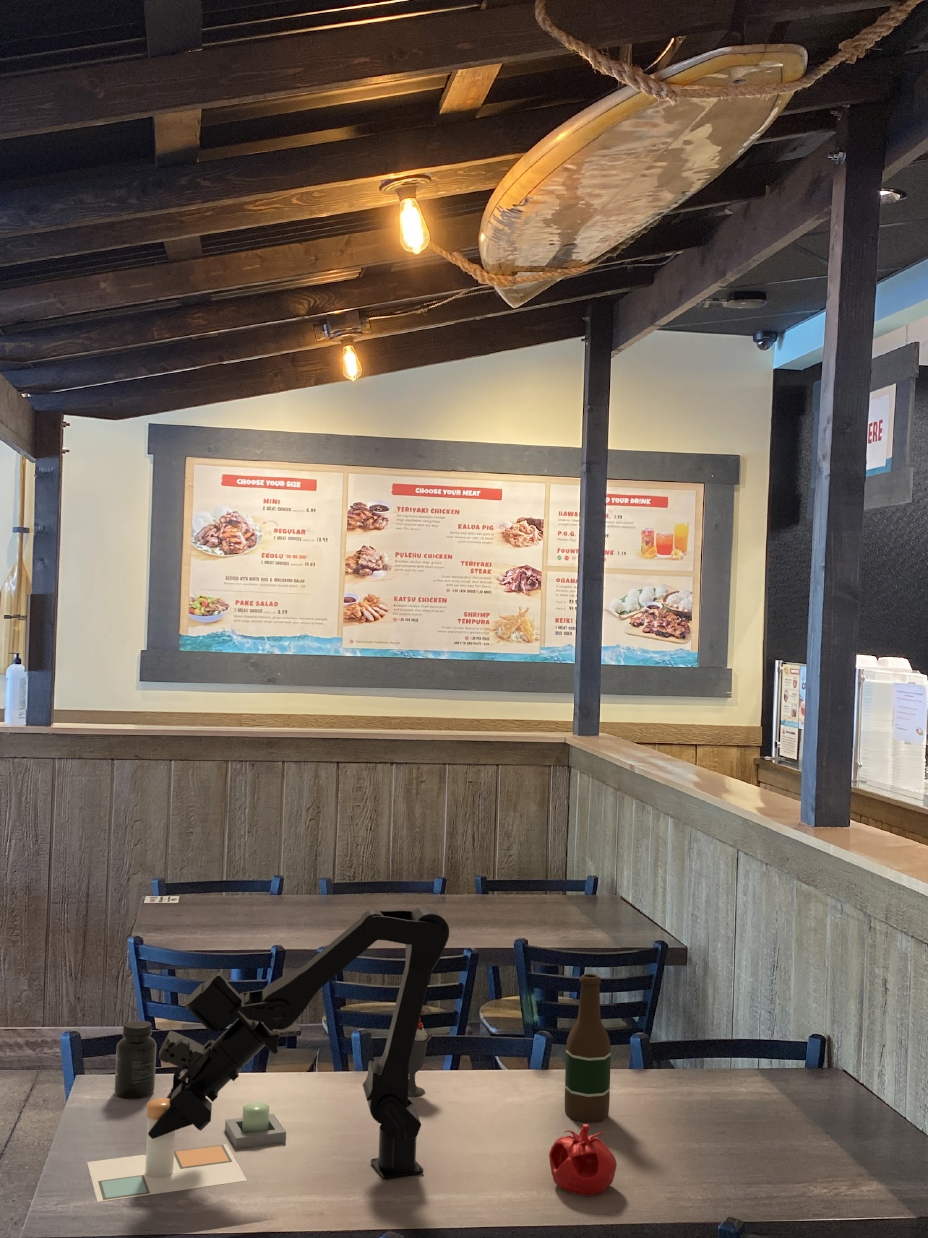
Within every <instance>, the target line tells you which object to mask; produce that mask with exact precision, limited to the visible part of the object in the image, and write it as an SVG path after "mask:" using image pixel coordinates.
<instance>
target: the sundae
mask: <svg viewBox="0 0 928 1238" xmlns="http://www.w3.org/2000/svg"><path fill="white" fill-rule="evenodd" d="M423 1014H425V1011H424V1010H423V1009H422V1011H421V1015H423ZM421 1015H420V1017H422V1016H421ZM431 1038H433V1034H431V1033H428V1032H427V1031H426V1029H425V1028H424V1024H423V1022H421V1018H420V1019H419V1024H418V1028H417V1032H416V1036H415V1040H414V1044H413V1048H412V1052H411V1056H410V1061H409V1092H408V1098H410V1097H411V1098H417V1097H421V1096H423V1095H425V1093H426V1091H425V1089H424V1088H422V1087H420V1086H417V1083H416V1073H417V1072H419V1071H420V1070H421V1069H422V1068H423V1067H424V1064H425V1063H424V1062H425V1058H426V1052H427V1046H428V1043H429V1041H430V1040H431Z"/></svg>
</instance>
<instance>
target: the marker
mask: <svg viewBox="0 0 928 1238" xmlns="http://www.w3.org/2000/svg"><path fill="white" fill-rule="evenodd" d="M169 1104H170V1098H167V1097H161V1098H154V1099H152V1100H149V1101H148V1102H147V1105H146V1106H147V1110H146V1116H147V1125H146V1148H145V1150H146V1151H145V1155H146V1167H145V1174H146V1175H147V1176H148V1177H152V1178H162V1177H166V1176H169V1175H171V1174H172V1173H173V1163H174V1151H175V1141H176V1139H175V1137H176V1136H175V1135H176V1130H175V1131H172V1132H170V1133H167V1134H165V1135H162V1136H159V1137H157V1138H154V1139H152V1138H151V1137H150V1136H149V1135H148V1133H149V1131H150V1130H151V1128H152V1127H153V1125H154V1124H155V1123H156V1121H157V1120H158V1119H159V1117H160V1116H161V1115H162V1113H163V1112H164V1111H165V1109H166V1108H167V1107H168V1106H169Z"/></svg>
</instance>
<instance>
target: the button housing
mask: <svg viewBox="0 0 928 1238" xmlns="http://www.w3.org/2000/svg"><path fill="white" fill-rule="evenodd" d="M242 1119H243V1117H237V1118H228V1119H225V1120H224V1123H225V1124H224V1131H225V1132H226V1135H227V1136H228V1138H229V1140H231V1142H232V1145H233V1146H234V1148H235V1149H243V1148H249V1147H257V1146H266V1145H274V1144H280V1143H282V1144H283V1145H284V1146H285V1147H286V1145H287V1131H286V1130H285V1129H286V1128H284V1127H283V1125H282V1123H281V1122H280V1121H279V1119H278V1118H277V1117H276V1114H274V1113H272V1114H271V1113H269V1130H268V1131H262V1132H254V1133H246V1134H244V1133H243V1132H242Z"/></svg>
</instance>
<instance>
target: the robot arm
mask: <svg viewBox="0 0 928 1238" xmlns="http://www.w3.org/2000/svg"><path fill="white" fill-rule="evenodd" d="M449 938H450V928H449V925H448V922H447V921H446V920H445V918H444V917H443V916H442V915H441V913H440V912H439V911H438V910H437V909H436V908H433V907H432V906H426V905H425V906H424V905H423V906H420V907H417V908H416V909H414V910H405V909H403V910H402V909H397V910H394V909H393V910H379V909H374V908H373V909H368V910H366V911H364V912H363V913H362V915H361V916H360V918H359V919H357V920H356V921H355V922H354V923H353V924H352V925H350V926H349V927H348V928H347V929H345V930H344V931H343V932H342V933H341V934H340V935H339V936H337V937H336V938H334V940H333V941H331V942H330V943H329V944H328V945H326V946H325V948H323V949H322V950H320V952H318V953H317V954H316V955H315V956H314V957H312V958H311V959H310V960H308V962H307V963H305V964H304V965H303V966H301V967H299V968H297V969H295V970H293V971H290V972H288V973H286V974H283V975H282V976H281V977H279V978H277V979H276V980H274V981H273V982H271V983H268V984H267V985H266V986H265V987H264V988H263V989H257V990H252V991H245V992H244V991H243V992H241V993H239V992H238V991H237V990H236V989H235V988H234V987H233V986H232V985H231V984H230V983H229V982H228V980H227V979H226V977H225V976H224V975H223V974H222V973H221V972H217V973H216V974H215V975H214V976H212V977H210V978H208V980H206V981H204V982H203V983H200V984H199V985H198V986H197V987H196V988H195V989H194V990H193V992H191V994H189V996H188V997H187V999H185V1002H184V1003H183V1006H184V1008H186V1009H187V1010H188V1011H189V1012H190V1013H191V1014H192V1015H193V1017H195V1018H196V1020H198V1021H199V1022H200V1024H202V1025H203V1026H204V1027H205V1028H206V1029H207V1031H208V1032H211V1033H212V1032H213V1031H214V1032H215V1033H218V1032H222V1031H223V1033H222V1034H220V1036H219V1037H218V1038H217V1039H216V1040H214V1039H212V1040H210V1039H209V1040H208V1041H207V1042H206V1043H205V1044H204V1045H203V1044H201V1043H199V1042H197V1041H195V1040H194V1039H192V1038H190V1037H187V1036H184V1035H183V1034H180V1033H178V1032H176V1031H172V1030H170V1031H169V1032H168V1034H167V1035H166V1037H165V1038H164V1041H163V1043H162V1045H161V1048H159V1053H158V1056H157V1058H158V1060H160V1061H161V1062H164V1063H166V1064H167V1063H169V1064H172V1065H174V1066H176V1067H178V1068H179V1069H182V1070H181V1071H180V1072H179V1071H178V1070H176V1069H175V1070H174V1072H173V1078H172V1087H171V1088H170V1091H169V1093H168V1094H167V1096H166V1098H170V1104H169V1106H168V1107H167V1108H166V1109H165V1111H164V1112H163V1113H162V1115H161V1116H160V1117H159V1119H158V1120H157V1121H156V1123H155V1124H154V1125H153V1127H152V1128H151V1130H150V1131H149V1133H148V1135H149V1136H150V1137H151V1138H152V1139H154V1138H157V1137H159V1136H162V1135H165V1134H167V1133H170V1132H172V1131H175V1132H176V1131H177V1130H180V1129H184V1128H187V1127H190V1126H192V1125H193V1126H194V1127H195V1128H196V1129H197V1130H198V1131H200V1132H201V1131H202V1130H204V1128H205V1127H207V1126H208V1124H209V1123H211V1120H212V1107H213V1103H214V1101H215V1100H216V1099H218V1097H219V1092H220V1091H221V1090H222V1089H223V1088H224V1087H225V1086H226V1085H227V1084H228V1082H230V1081H231V1080H232V1081H233V1082H235V1081H236V1080H237V1078H238V1077H239V1076H240V1075H239V1072H240V1071H241V1070H242V1069H243V1068H244V1067H245V1066H246V1065H247V1064H248V1063H249V1062H250V1061H251V1060H252V1059H253V1058H254V1057H255V1056H256V1055H257V1054H258V1053H259V1052H260V1051H261V1050H262V1049H263V1048H264V1047H267V1049H268V1050H270V1052H271V1053H272V1054H274V1055H276V1054H277V1055H278V1052H279V1051H278V1049H279V1048H278V1044H279V1039H280V1031H284V1030H286V1029H288V1028H289V1027H291V1026H292V1025H294V1023H295V1022H296V1021H297V1020H298V1018H299V1017H300V1016H301V1014H303V1012H304V1011H305V1010H306V1009H307V1007H308V1006H309V1005H310V1003H311V1001H313V998H314V997H315V995H316V994H317V993H318V992H319V990H320V989H322V988H323V987H324V986H325V985H326V984H327V983H328V982H330V981H331V980H332V979H333V978H334V977H336V976H337V975H338V974H339V973H340V972H341V971H343V970H344V969H345V968H346V967H348V966H349V965H350V964H351V963H352V962H354V960H356V959H357V958H359V956H360V955H361V954H363V953H364V952H366V950H368V948H370V946H373V944H375V942H377V941H387V942H391V943H392V942H393V943H397V944H404V945H405V962H404V963H405V965H404V969H403V974H402V977H401V980H400V986H399V990H398V993H397V996H396V997H397V998H396V1001H395V1006H394V1010H393V1012H392V1013H393V1014H392V1018H391V1023H390V1026H389V1030H388V1035H387V1038H386V1041H385V1042H386V1044H385V1045H384V1046H385V1047H384V1050H383V1051H384V1052H383V1053H382V1055H381V1057H380V1058H379V1060H378V1062H375V1061H372V1060H369V1061H368V1068H367V1076H366V1078H365V1080H364V1082H363V1083H362V1087H363V1091H364V1095H365V1098H366V1102H367V1105H368V1108H369V1109H368V1110H369V1112H370V1115H371V1117H372V1118H373V1120H374V1121H376V1122H377V1124H380V1125H379V1130H378V1131H379V1132H378V1133H379V1135H378V1136H379V1137H378V1157H376V1158H371V1159H370V1164H371V1165H372V1166H373V1167H374V1169H375V1170H376V1171H377V1172H378V1174H379V1175H380V1176H381V1178H383V1179H391V1178H392V1179H393V1178H399V1177H406V1176H412V1175H418V1174H420V1175H421V1174H423V1173H424V1168H423V1167H422V1165H420V1164H419V1162H418V1161H417V1160H416V1158H417V1155H416V1154H417V1137H418V1134H419V1132H420V1129H421V1127H422V1123H421V1120H420V1118H419V1115H418V1113H417V1109H416V1107H415V1105H414V1102H413V1101H412V1100H411V1099H410V1097H408V1092H409V1061H410V1056H411V1052H412V1048H413V1044H414V1040H415V1036H416V1032H417V1028H418V1024H419V1019H421V1016H420V1015H421V1014H422V1013H421V1012H422V1010H423V1008H424V1002H425V998H426V995H427V990H428V986H429V982H430V977H431V974H432V972H433V970H434V968H435V967H436V965H437V964H438V962H439V960H440V959H441V957H442V955H443V952H444V950H445V947H446V946H447V943H448V941H449ZM236 1018H237V1019H236ZM235 1019H236V1020H235ZM234 1020H235V1021H234ZM233 1021H234V1022H233ZM229 1025H230V1026H229ZM226 1028H227V1029H226ZM225 1029H226V1030H225ZM224 1030H225V1031H224ZM279 1030H280V1031H279ZM212 1102H213V1103H212Z"/></svg>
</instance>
